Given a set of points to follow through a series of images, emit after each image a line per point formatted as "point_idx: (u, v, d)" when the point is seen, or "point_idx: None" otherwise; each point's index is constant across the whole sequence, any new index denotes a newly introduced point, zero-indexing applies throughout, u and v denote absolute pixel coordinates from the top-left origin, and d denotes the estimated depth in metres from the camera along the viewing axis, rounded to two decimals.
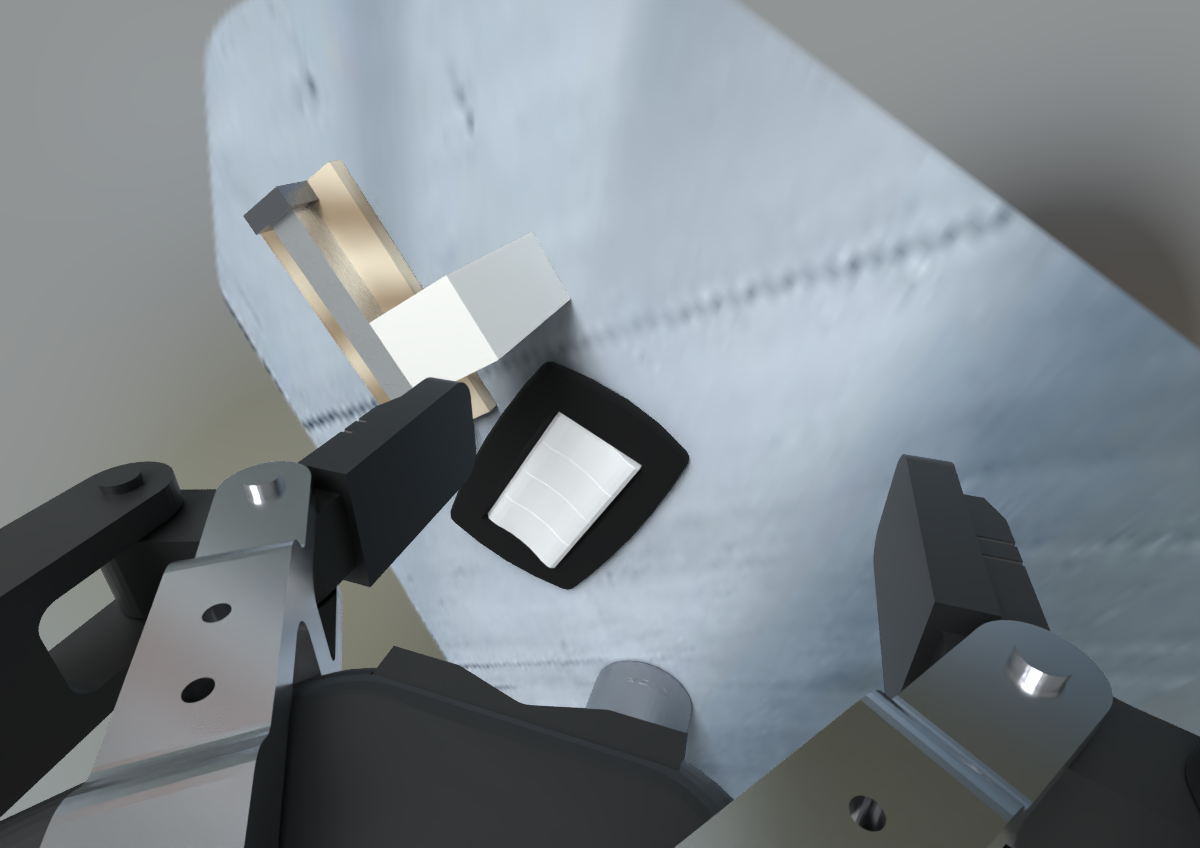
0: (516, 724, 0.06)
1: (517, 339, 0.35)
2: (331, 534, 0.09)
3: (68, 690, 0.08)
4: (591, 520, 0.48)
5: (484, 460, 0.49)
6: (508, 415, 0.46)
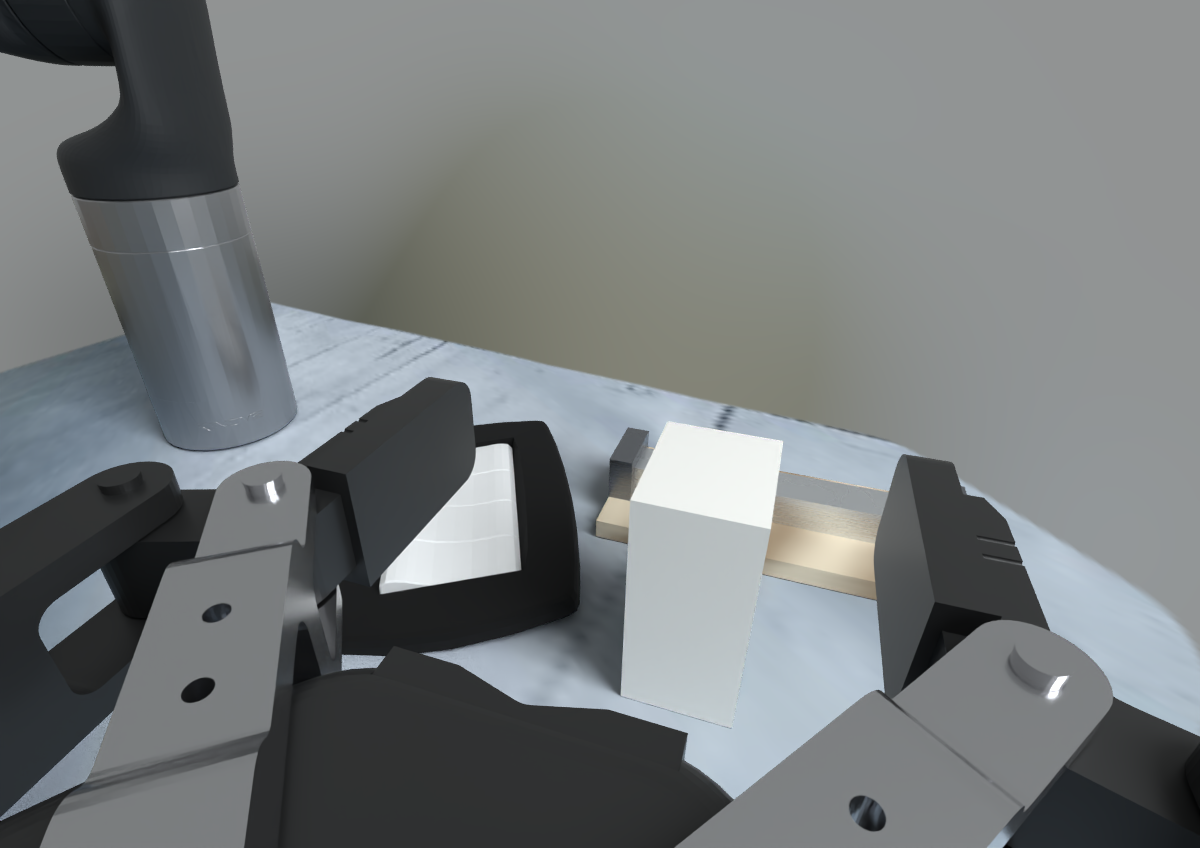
0: (516, 724, 0.06)
1: (632, 556, 0.24)
2: (331, 534, 0.09)
3: (68, 690, 0.08)
4: None
5: (554, 478, 0.40)
6: (569, 528, 0.35)
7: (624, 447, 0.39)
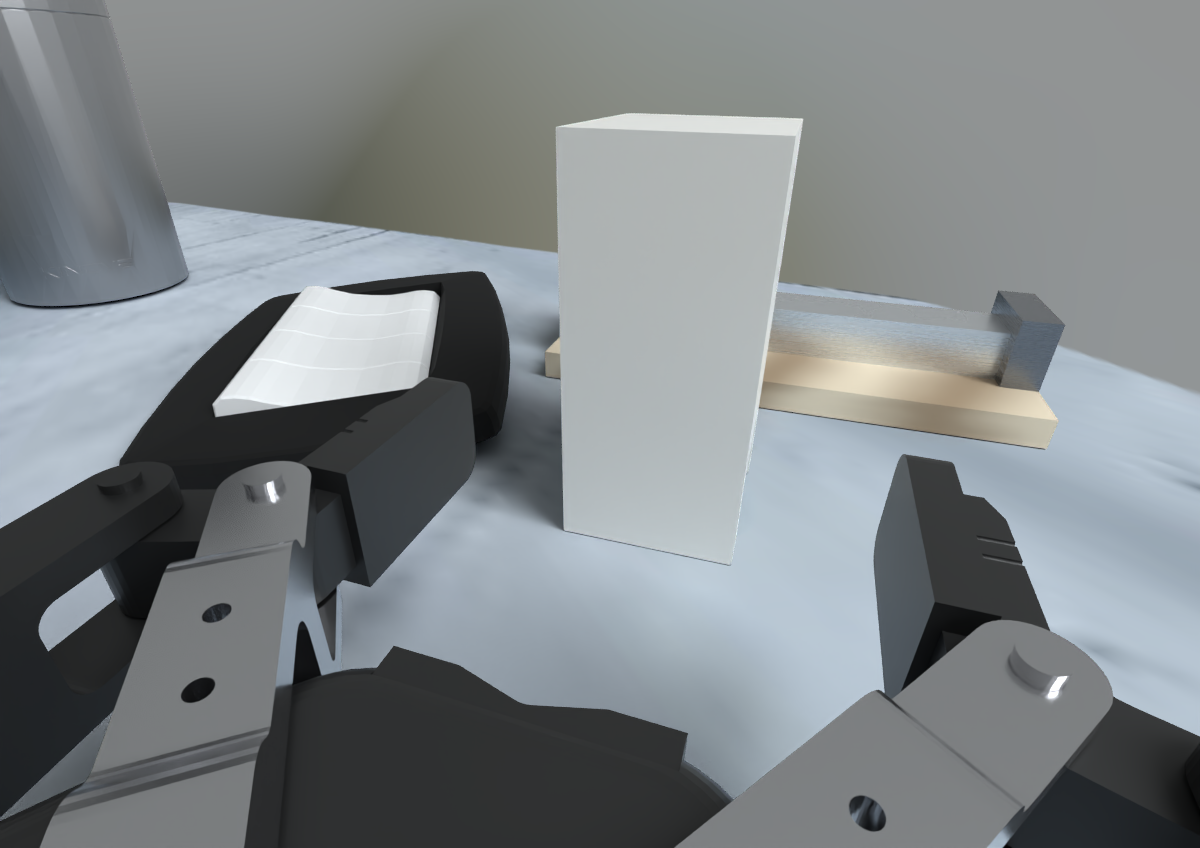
0: (516, 724, 0.06)
1: (565, 250, 0.15)
2: (331, 534, 0.09)
3: (68, 690, 0.08)
4: (269, 334, 0.28)
5: (485, 311, 0.30)
6: (495, 351, 0.26)
7: None
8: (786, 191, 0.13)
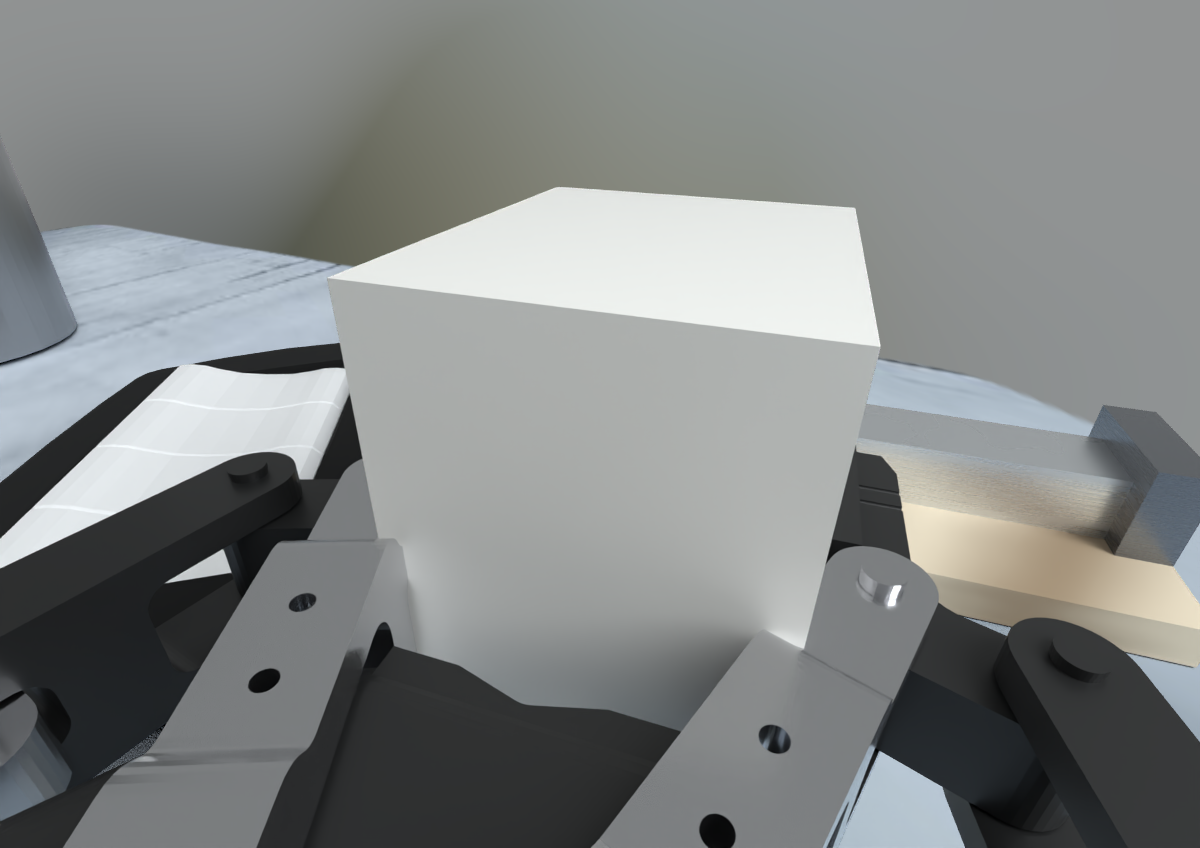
0: (516, 724, 0.06)
1: (385, 502, 0.07)
2: None
3: (170, 667, 0.08)
4: None
5: None
6: None
7: None
8: (849, 461, 0.05)
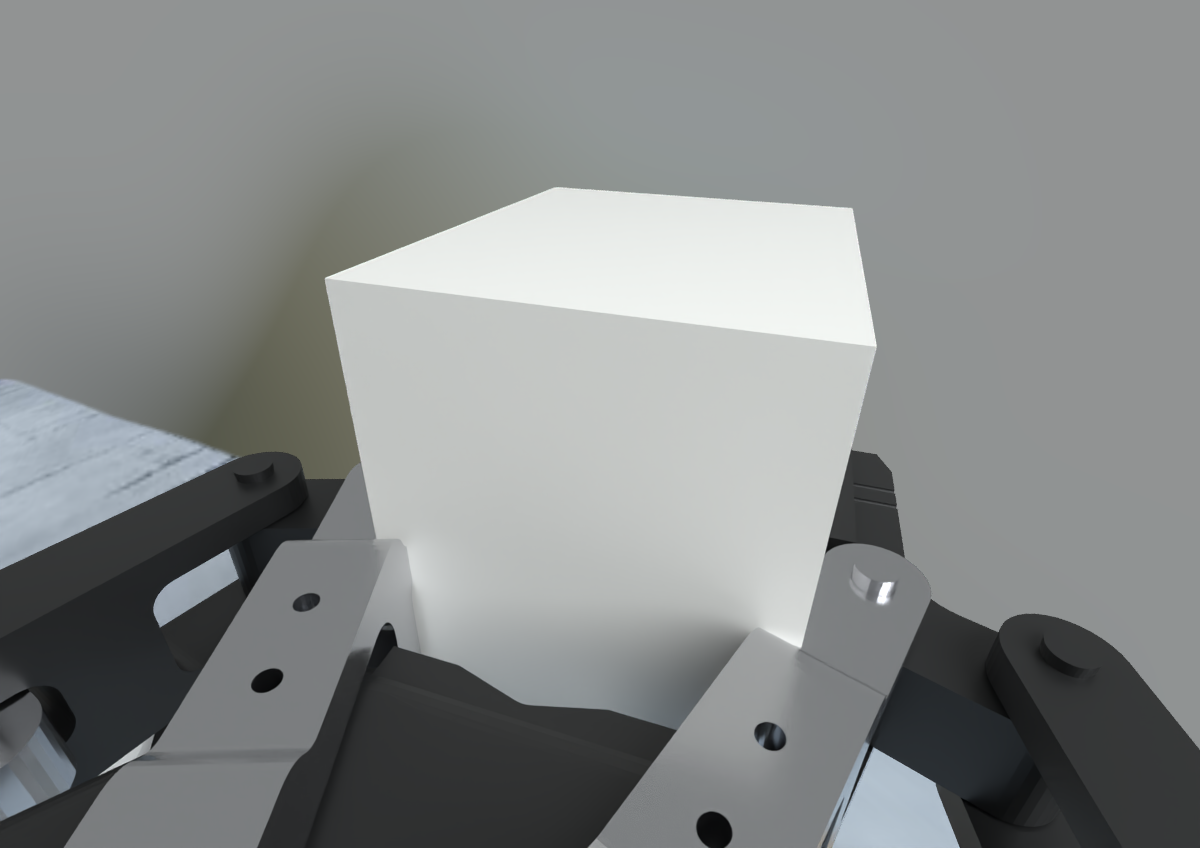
0: (516, 724, 0.06)
1: (382, 502, 0.07)
2: None
3: (174, 666, 0.08)
4: None
5: None
6: None
7: None
8: (845, 461, 0.05)
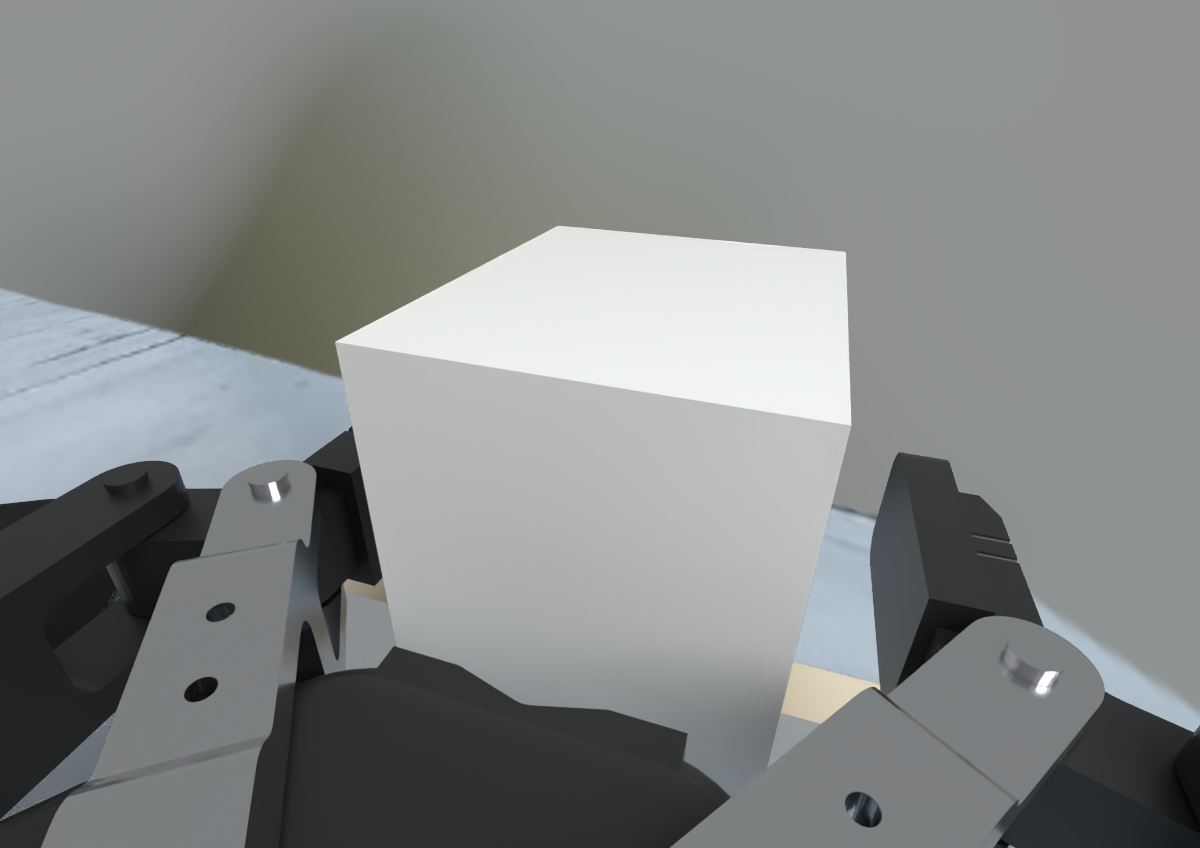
0: (516, 724, 0.06)
1: (389, 545, 0.08)
2: (336, 533, 0.09)
3: (73, 689, 0.08)
4: None
5: None
6: None
7: None
8: (824, 526, 0.06)
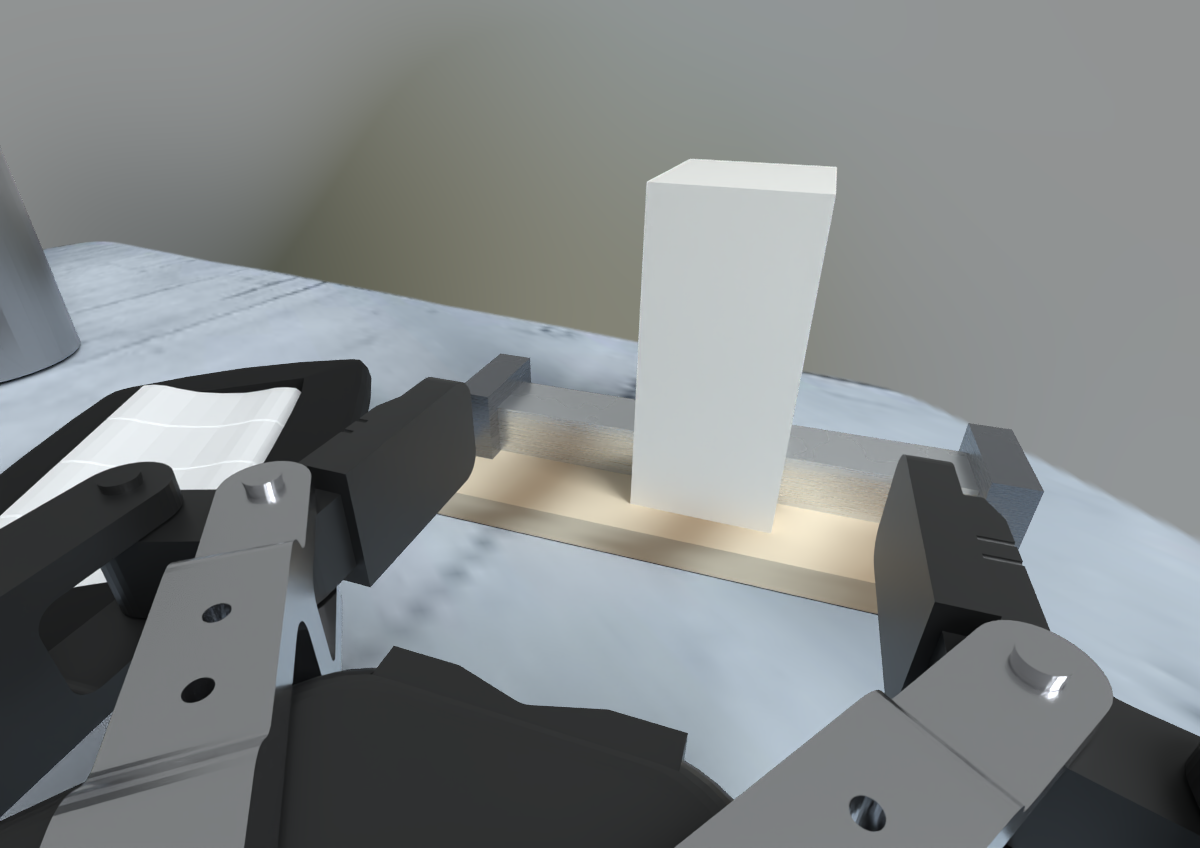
0: (516, 724, 0.06)
1: (648, 276, 0.19)
2: (330, 534, 0.09)
3: (68, 690, 0.08)
4: (55, 467, 0.23)
5: (329, 430, 0.25)
6: None
7: (484, 377, 0.25)
8: (827, 235, 0.16)
